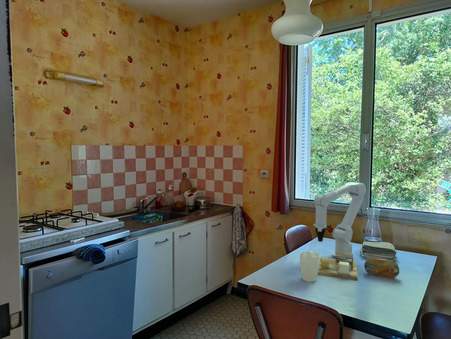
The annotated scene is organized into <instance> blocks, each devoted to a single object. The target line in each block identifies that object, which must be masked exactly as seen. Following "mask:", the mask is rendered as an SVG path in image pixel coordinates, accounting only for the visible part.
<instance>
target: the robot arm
mask: <svg viewBox="0 0 451 339" xmlns="http://www.w3.org/2000/svg"><path fill="white" fill-rule="evenodd" d="M366 192H367V188H366V185H365V184H364V183H363V182H353V181H348V182H346V183H345V184H344V185H342V186H340V187H339V188H337V189H336V190H334V189H329V190H328V191H327V192H324V193H322V194H321V195H320V194H319V195H316V196H315V197H314V200H313V204H314V205H315V223H314V224H313V225H312V226H313V227H315V228H314V230H315V233H316V236H317V241H318V243H319V242H320V243H321V242H322V243H323V241H324V236H325V233H326V231H327V226H328V225H327V212H328V209H327V208H328V206H329V205H330V203H332V202H333V201H336V200H337V199H338V198H339V196H341V195H344V194H346V193H348V195H349V196H350V198H351V201H350V204H349V206H348V208H347V210H346V212H345V214H344V217H343V218H342V221H341V222H340V223H339V224H338V225H336V227H335V228H334V229H333V230H332V237H333V239H334V241H335V242H334V243H335V244H334V253H333V254H331V256H333V257H335V258H336V252H339V253H347V254H353V245H352V242H351V241H352V239H353V233H354V231H353V229H352V226H353V223H354V221H355V219H356V216H357V215H358V212H359V210H360V207H361V206H362V203H363V201H364V196H365V195H366ZM337 259H339V260H347V258H343V257H337Z"/></svg>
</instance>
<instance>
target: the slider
mask: <svg viewBox="0 0 451 339" xmlns="http://www.w3.org/2000/svg"><path fill="white" fill-rule="evenodd" d="M321 268H325V269H332V270H337V273H338V274H345V275H351V267H349V274H348V273H341V272H339V266H338V268H335V267H329V261H327V260H321Z"/></svg>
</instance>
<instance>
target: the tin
mask: <svg viewBox="0 0 451 339" xmlns="http://www.w3.org/2000/svg"><path fill="white" fill-rule="evenodd" d="M363 266H364V271H365V272H366V273H367V274H369V275H370V276H374V277H378V278H385V279H395V278H397V277H398V275H399V274H400V268H399V266H398V264H397V263H396V262H395V261H391V260H385V259H378V258H369V259H366V261H365V263H364V265H363Z"/></svg>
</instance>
